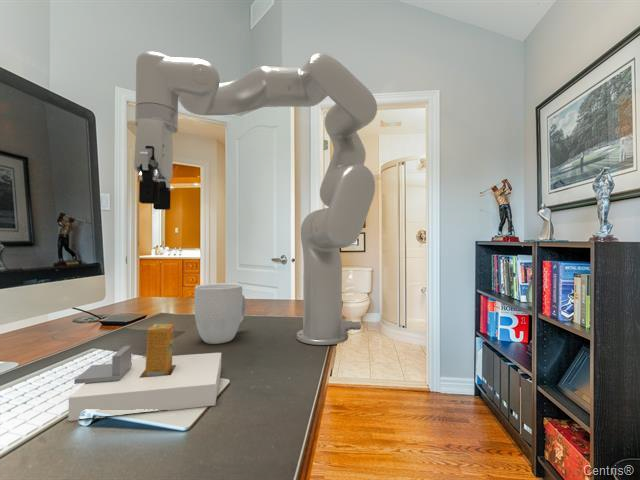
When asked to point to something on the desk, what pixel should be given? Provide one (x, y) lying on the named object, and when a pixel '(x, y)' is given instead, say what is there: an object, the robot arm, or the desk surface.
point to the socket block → (154, 387)
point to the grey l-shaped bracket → (108, 368)
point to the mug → (219, 311)
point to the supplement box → (159, 350)
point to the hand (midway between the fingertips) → (156, 206)
